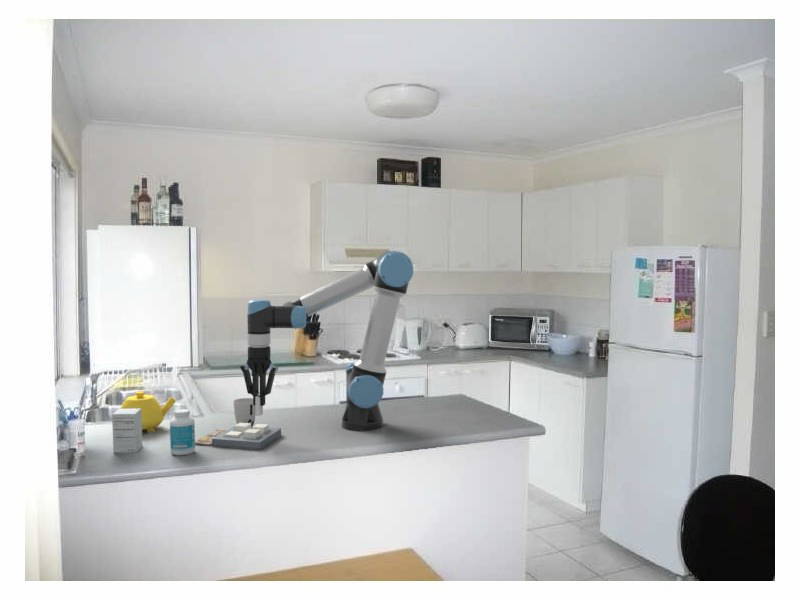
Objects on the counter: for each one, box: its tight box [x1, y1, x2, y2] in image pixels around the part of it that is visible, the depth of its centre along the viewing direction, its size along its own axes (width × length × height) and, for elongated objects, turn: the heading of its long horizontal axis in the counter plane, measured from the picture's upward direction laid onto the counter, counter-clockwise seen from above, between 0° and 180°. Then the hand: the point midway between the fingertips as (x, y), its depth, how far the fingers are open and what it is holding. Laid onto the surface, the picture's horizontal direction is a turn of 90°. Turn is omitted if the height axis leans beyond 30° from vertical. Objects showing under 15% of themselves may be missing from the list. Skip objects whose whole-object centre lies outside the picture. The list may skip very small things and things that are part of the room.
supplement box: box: [111, 408, 143, 454], centre depth 223 cm, size 7×7×13 cm
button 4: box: [252, 423, 270, 434], centre depth 235 cm, size 4×4×3 cm
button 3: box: [243, 429, 261, 439], centre depth 229 cm, size 4×4×3 cm
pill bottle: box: [169, 408, 196, 456], centre depth 219 cm, size 8×7×14 cm
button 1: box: [225, 431, 242, 438], centre depth 231 cm, size 4×4×3 cm
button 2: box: [233, 423, 251, 433], centre depth 237 cm, size 4×4×3 cm
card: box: [195, 429, 228, 447], centre depth 236 cm, size 6×17×1 cm, turn 167°
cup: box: [233, 397, 256, 427], centre depth 249 cm, size 8×8×10 cm
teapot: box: [119, 390, 177, 433], centre depth 247 cm, size 20×16×14 cm
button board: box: [211, 426, 282, 451], centre depth 233 cm, size 17×17×2 cm
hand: (259, 414), depth 235 cm, fingers closed
